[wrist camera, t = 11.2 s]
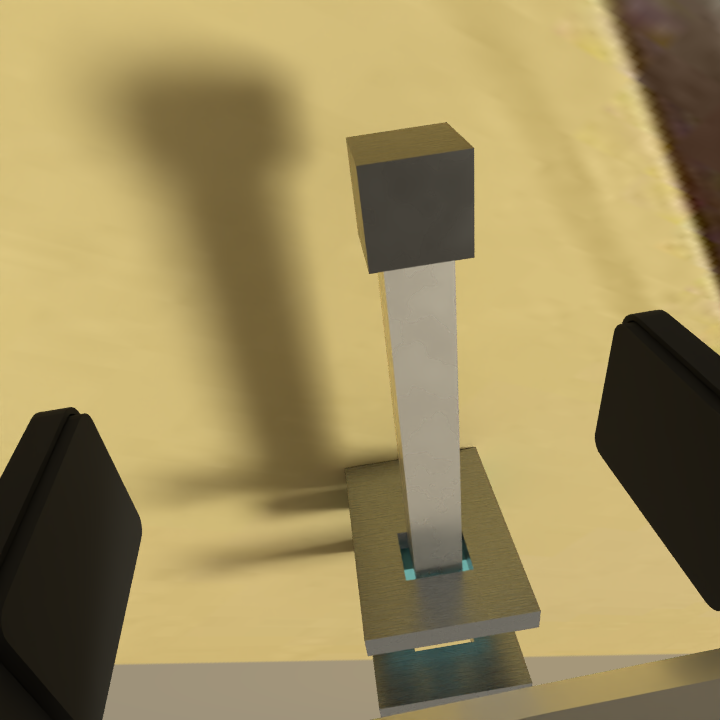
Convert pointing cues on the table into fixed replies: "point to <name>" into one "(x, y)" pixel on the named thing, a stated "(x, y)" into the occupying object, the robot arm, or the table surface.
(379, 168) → the shaft
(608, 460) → the robot arm
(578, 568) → the table surface
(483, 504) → the pair of grey plates
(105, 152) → the table surface
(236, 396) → the table surface
